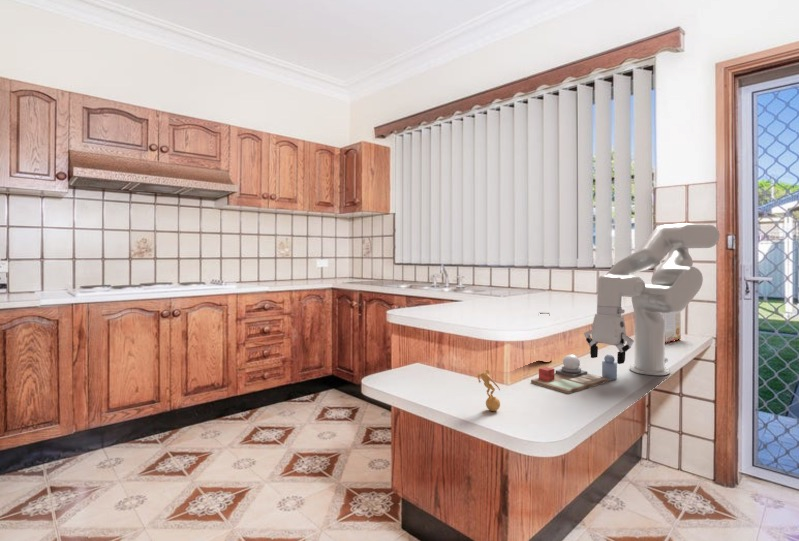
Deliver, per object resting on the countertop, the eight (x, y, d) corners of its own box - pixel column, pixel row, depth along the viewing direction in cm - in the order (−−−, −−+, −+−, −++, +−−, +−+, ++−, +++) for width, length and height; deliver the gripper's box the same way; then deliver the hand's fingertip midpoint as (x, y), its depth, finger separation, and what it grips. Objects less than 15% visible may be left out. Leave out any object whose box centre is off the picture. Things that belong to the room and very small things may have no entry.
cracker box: (668, 338, 213) (668, 296, 213) (681, 340, 208) (681, 297, 207) (651, 341, 207) (652, 298, 206) (664, 343, 201) (665, 299, 200)
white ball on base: (568, 366, 157) (568, 351, 157) (585, 370, 151) (585, 355, 151) (557, 369, 153) (557, 354, 153) (573, 373, 148) (573, 357, 148)
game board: (570, 371, 158) (570, 359, 158) (608, 381, 146) (608, 367, 146) (530, 382, 146) (530, 369, 146) (568, 394, 134) (568, 379, 134)
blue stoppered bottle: (606, 375, 153) (606, 352, 153) (619, 378, 149) (619, 354, 149) (599, 377, 151) (599, 354, 150) (612, 380, 147) (612, 356, 147)
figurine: (508, 413, 119) (508, 370, 118) (492, 418, 116) (492, 374, 115) (488, 404, 126) (487, 364, 125) (472, 409, 123) (471, 367, 122)
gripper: (639, 313, 144) (637, 364, 144) (592, 308, 158) (590, 354, 159) (627, 314, 140) (625, 367, 140) (579, 309, 154) (578, 356, 155)
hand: (607, 360), depth 149 cm, fingers open, 9 cm apart
